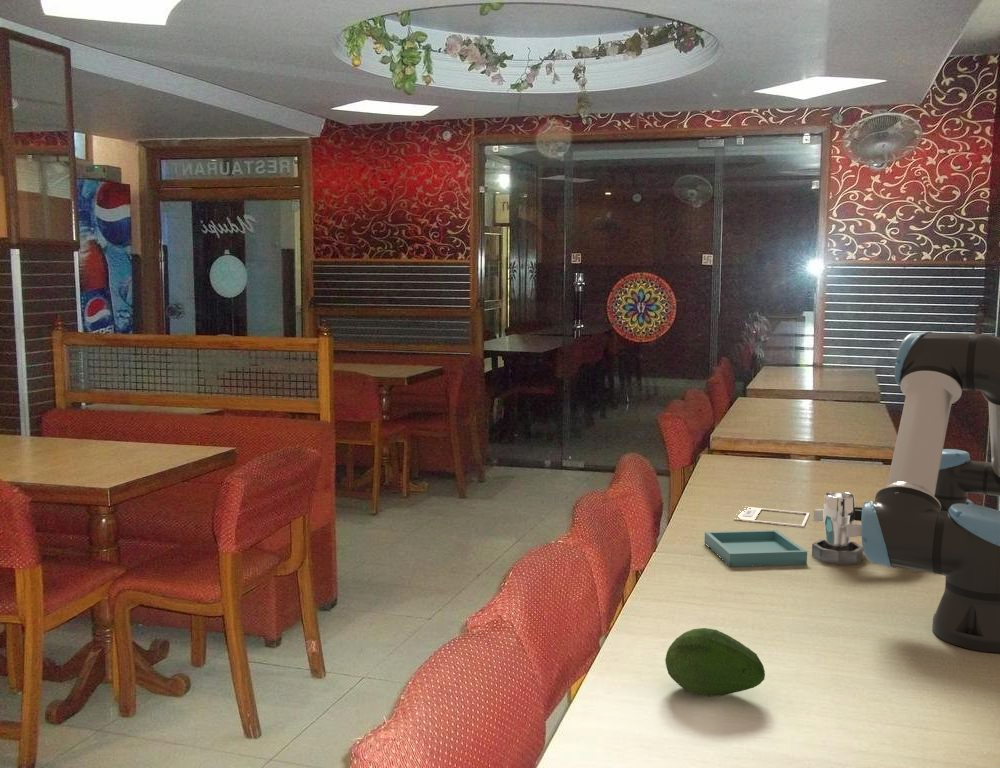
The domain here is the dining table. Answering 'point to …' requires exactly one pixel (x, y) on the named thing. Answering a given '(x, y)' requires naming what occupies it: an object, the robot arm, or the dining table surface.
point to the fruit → (713, 663)
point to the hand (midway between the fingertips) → (830, 522)
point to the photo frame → (753, 513)
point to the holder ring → (837, 554)
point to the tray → (755, 548)
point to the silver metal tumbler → (838, 519)
